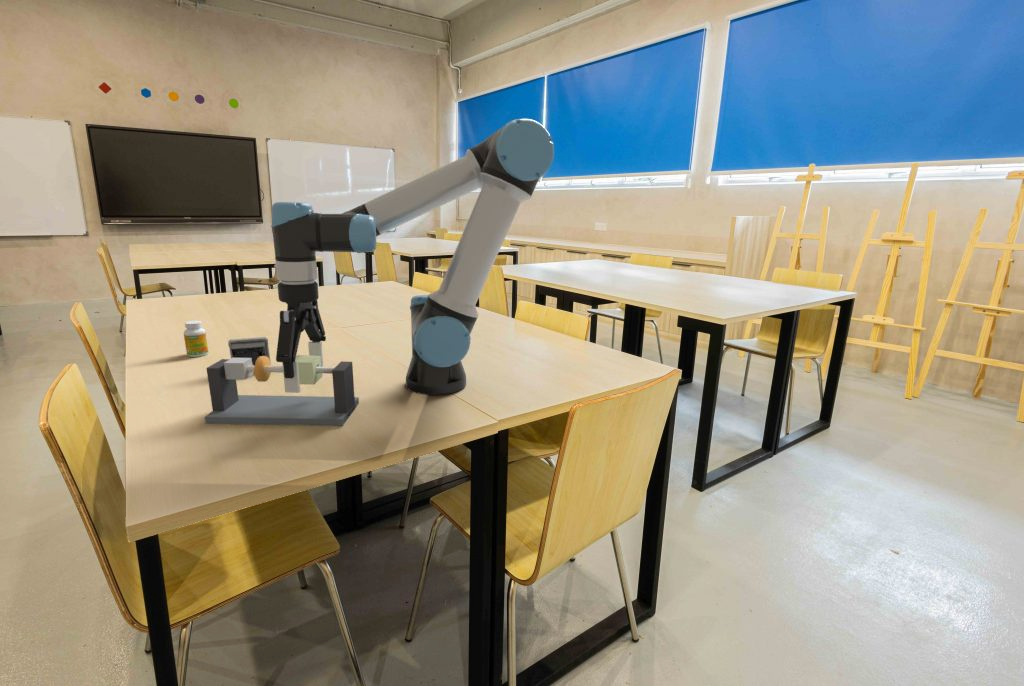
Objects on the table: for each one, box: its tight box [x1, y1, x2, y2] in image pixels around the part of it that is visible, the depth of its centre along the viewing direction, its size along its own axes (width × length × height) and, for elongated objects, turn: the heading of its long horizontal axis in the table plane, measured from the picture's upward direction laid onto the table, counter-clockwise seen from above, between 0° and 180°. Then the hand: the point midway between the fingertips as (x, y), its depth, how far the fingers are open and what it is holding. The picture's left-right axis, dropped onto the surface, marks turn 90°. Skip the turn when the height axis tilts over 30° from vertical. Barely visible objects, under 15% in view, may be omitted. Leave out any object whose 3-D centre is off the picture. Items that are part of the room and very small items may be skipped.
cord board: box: [204, 356, 360, 427], centre depth 109 cm, size 28×12×13 cm, turn 91°
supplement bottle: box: [183, 320, 209, 358], centre depth 147 cm, size 5×5×10 cm
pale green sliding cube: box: [295, 354, 323, 385], centre depth 108 cm, size 5×5×5 cm
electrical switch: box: [227, 336, 272, 365], centre depth 134 cm, size 9×5×9 cm, turn 113°
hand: (305, 380), depth 108 cm, fingers open, 13 cm apart
